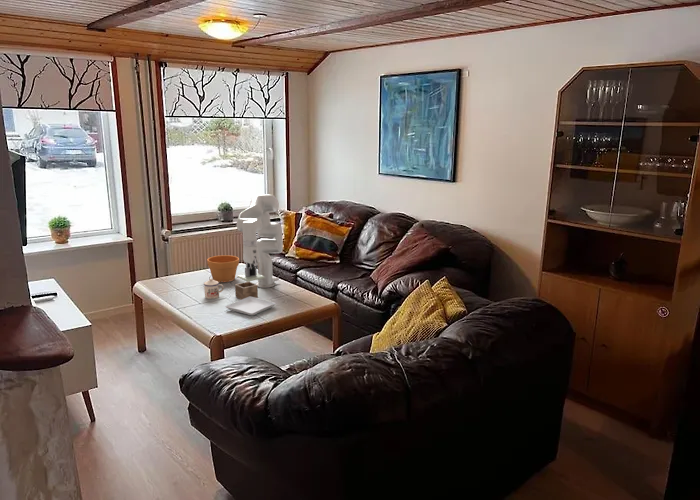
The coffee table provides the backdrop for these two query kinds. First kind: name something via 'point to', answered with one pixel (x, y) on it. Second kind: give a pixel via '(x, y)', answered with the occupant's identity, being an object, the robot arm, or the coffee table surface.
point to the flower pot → (223, 267)
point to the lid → (250, 278)
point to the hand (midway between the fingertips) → (250, 274)
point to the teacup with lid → (212, 289)
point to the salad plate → (250, 305)
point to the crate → (246, 290)
